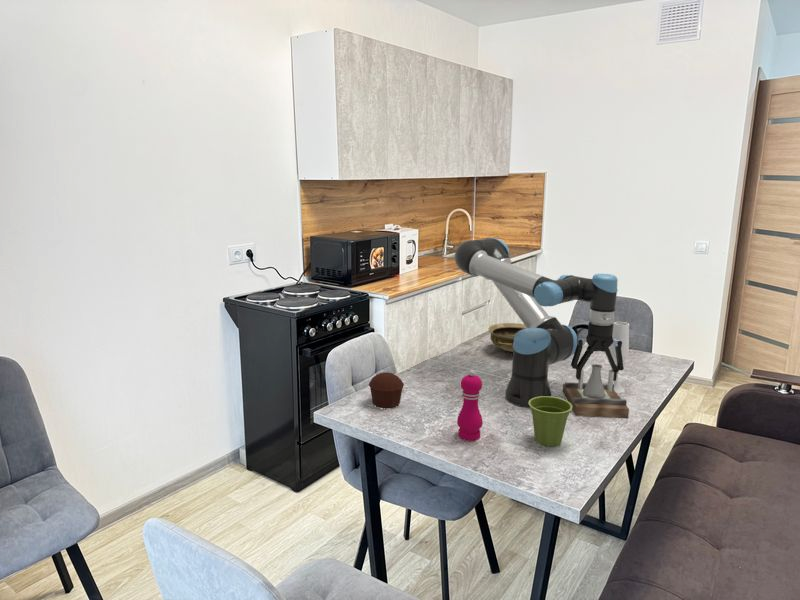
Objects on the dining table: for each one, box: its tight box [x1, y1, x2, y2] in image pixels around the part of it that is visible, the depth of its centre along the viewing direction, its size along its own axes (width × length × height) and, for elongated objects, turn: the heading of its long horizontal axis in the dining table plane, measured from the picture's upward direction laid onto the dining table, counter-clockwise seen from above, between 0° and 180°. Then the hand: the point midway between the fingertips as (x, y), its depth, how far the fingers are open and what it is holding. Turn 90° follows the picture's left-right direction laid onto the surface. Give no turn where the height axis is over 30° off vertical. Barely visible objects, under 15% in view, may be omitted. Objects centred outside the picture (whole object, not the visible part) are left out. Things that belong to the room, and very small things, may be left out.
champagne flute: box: [609, 321, 630, 394], centre depth 194 cm, size 7×7×24 cm
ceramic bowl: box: [488, 322, 527, 356], centre depth 235 cm, size 30×24×10 cm
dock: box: [561, 381, 630, 419], centre depth 184 cm, size 16×20×4 cm
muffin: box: [368, 371, 405, 410], centre depth 182 cm, size 12×11×10 cm
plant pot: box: [529, 396, 573, 447], centre depth 157 cm, size 12×12×11 cm
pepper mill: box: [456, 369, 483, 442], centre depth 159 cm, size 7×7×20 cm
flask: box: [583, 363, 606, 398], centre depth 182 cm, size 7×7×10 cm
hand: (594, 389), depth 183 cm, fingers open, 9 cm apart
